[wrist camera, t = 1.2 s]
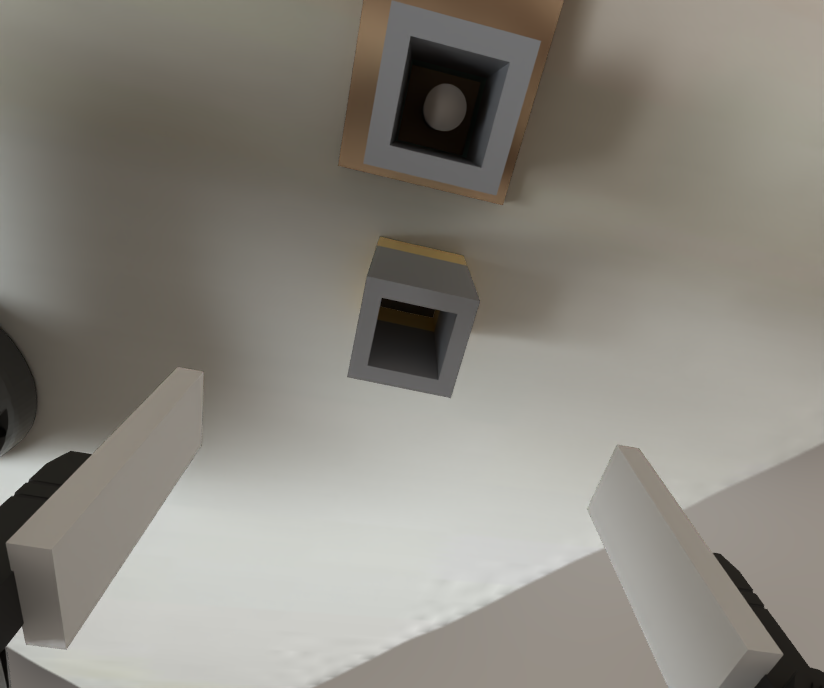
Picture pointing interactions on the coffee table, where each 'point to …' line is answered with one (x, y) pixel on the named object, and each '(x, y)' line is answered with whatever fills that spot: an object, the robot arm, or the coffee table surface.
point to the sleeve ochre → (414, 319)
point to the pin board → (428, 79)
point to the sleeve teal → (460, 56)
